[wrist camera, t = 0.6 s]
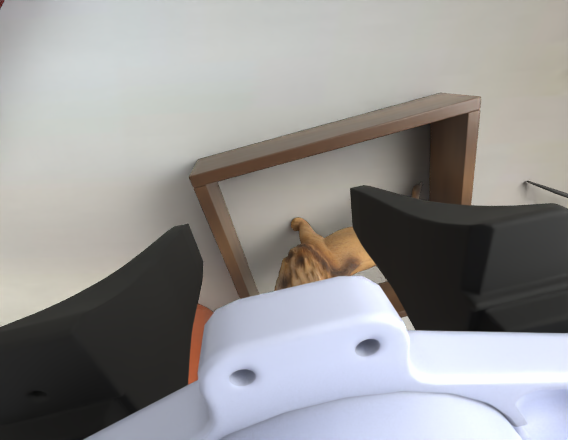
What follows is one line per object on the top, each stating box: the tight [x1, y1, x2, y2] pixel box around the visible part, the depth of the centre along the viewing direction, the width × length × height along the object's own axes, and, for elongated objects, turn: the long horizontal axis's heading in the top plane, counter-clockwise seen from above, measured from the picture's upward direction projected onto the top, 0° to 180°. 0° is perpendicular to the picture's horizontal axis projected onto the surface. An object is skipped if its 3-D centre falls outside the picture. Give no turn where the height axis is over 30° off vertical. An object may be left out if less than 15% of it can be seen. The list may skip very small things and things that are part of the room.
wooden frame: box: [189, 93, 481, 318], centre depth 23 cm, size 18×19×4 cm
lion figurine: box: [275, 182, 423, 291], centre depth 21 cm, size 15×5×9 cm, turn 118°
